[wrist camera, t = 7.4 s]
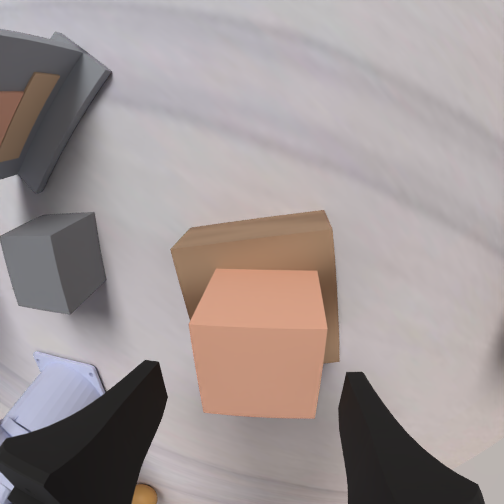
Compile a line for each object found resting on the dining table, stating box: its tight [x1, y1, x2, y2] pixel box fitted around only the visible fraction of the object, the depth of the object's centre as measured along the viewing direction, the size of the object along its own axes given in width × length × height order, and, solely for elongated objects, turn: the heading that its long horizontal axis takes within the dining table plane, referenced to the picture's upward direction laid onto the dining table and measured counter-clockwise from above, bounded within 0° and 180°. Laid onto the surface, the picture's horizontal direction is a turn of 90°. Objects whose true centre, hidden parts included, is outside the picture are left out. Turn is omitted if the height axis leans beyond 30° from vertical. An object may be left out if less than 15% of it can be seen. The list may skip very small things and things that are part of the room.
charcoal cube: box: [0, 212, 106, 315], centre depth 19 cm, size 5×5×5 cm
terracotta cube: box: [189, 269, 328, 418], centre depth 15 cm, size 5×5×5 cm
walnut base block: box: [170, 210, 340, 364], centre depth 19 cm, size 8×8×4 cm
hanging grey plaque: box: [0, 29, 112, 194], centre depth 13 cm, size 6×10×9 cm, turn 138°
